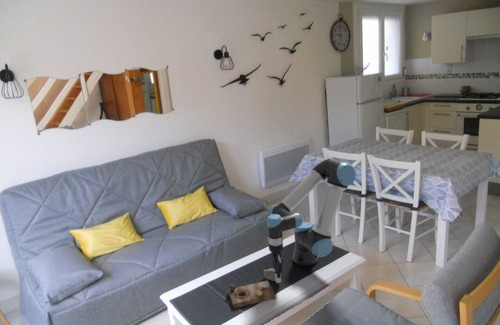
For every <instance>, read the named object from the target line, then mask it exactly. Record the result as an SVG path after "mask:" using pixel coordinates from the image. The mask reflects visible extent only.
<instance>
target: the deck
mask: <svg viewBox="0 0 500 325" xmlns="http://www.w3.org/2000/svg"><path fill="white" fill-rule="evenodd" d="M262 283H266V284H267V288H266V289H264V290H263V289H262V288H261V284H262ZM257 290H261V291H262V292H263V295H262V296H261V297H258V296H257V295H256V291H257ZM228 295H229V299H230V301H231V304H232V306H233V308H234V309H238V308H240V307H244V306H249V305H254V304H257V303H262V302H266V301H270V300H275V299H276V293H275V292H274V290H273V288H272V286H271V284H270V282H269V280H264V281H260V282H259V281H258V282H255V283H249V284H246V285H243V286H238V287H236V288H235V290H234V291H231V290H230V289H229V288H228Z"/></svg>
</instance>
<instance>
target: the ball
mask: <svg viewBox="0 0 500 325" xmlns="http://www.w3.org/2000/svg"><path fill="white" fill-rule="evenodd" d="M261 288H262V289H263V290H264V289H266V288H267V284H266V283H262V284H261Z"/></svg>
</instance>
